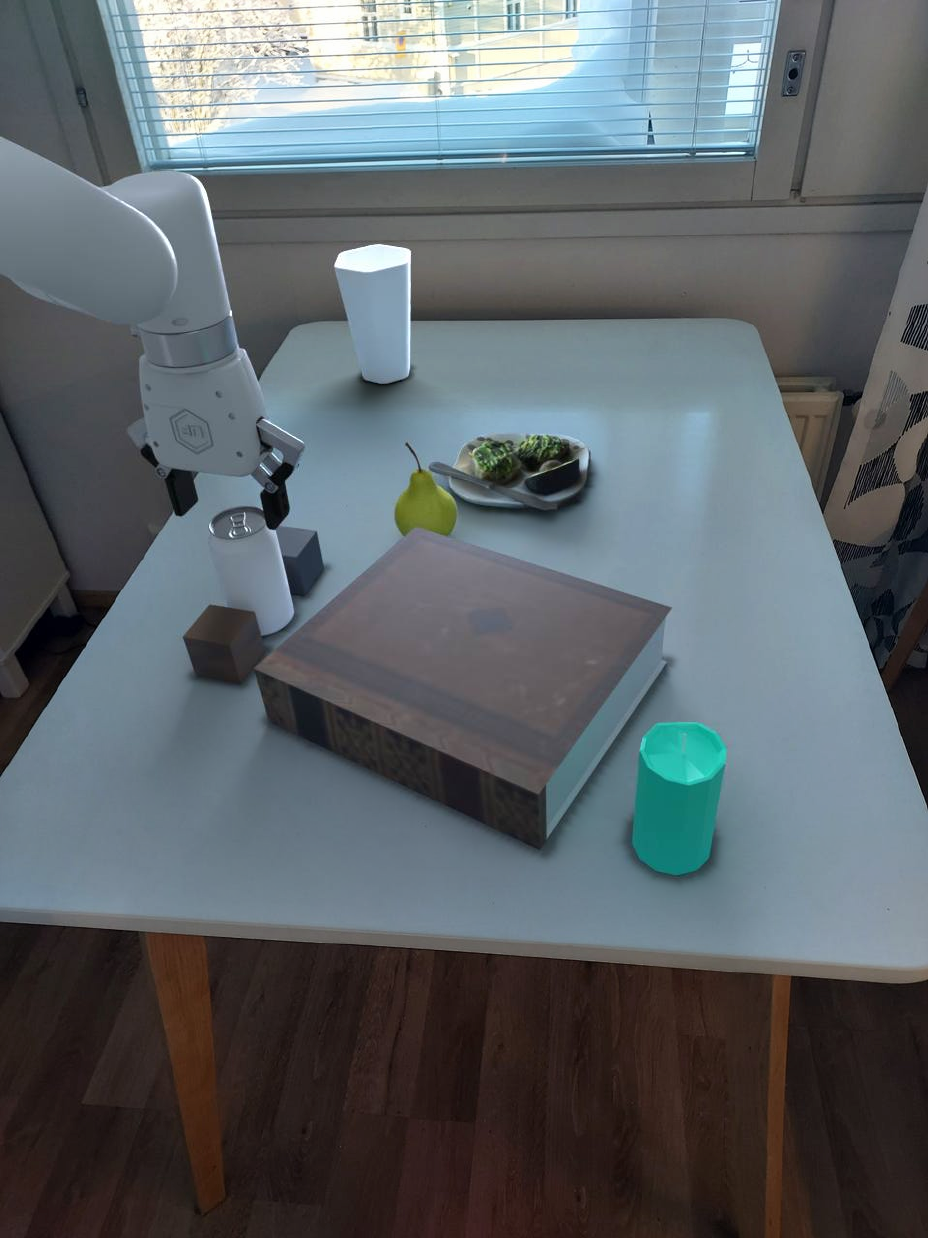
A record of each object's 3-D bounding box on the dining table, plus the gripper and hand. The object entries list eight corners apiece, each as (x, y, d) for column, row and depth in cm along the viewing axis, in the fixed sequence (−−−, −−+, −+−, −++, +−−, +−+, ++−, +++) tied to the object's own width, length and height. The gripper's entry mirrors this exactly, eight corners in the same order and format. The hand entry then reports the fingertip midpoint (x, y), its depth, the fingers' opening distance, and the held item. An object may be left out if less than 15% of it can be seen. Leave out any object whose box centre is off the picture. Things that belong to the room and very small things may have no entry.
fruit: (471, 539, 104) (465, 444, 97) (427, 566, 101) (416, 470, 93) (430, 517, 108) (420, 424, 101) (385, 542, 105) (372, 448, 97)
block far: (262, 589, 100) (253, 551, 96) (283, 562, 103) (275, 524, 100) (304, 595, 98) (296, 557, 95) (324, 568, 102) (317, 530, 99)
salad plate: (413, 513, 109) (409, 479, 106) (447, 439, 122) (445, 407, 119) (578, 525, 105) (578, 490, 102) (595, 447, 118) (596, 414, 115)
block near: (195, 676, 90) (182, 636, 86) (221, 642, 93) (209, 603, 90) (241, 684, 88) (229, 645, 85) (265, 650, 92) (255, 611, 89)
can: (234, 645, 93) (205, 546, 85) (229, 606, 98) (201, 510, 90) (298, 631, 94) (276, 532, 86) (290, 593, 99) (268, 497, 91)
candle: (723, 830, 72) (742, 721, 64) (694, 888, 68) (711, 780, 60) (650, 800, 74) (661, 692, 67) (618, 854, 71) (626, 747, 63)
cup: (417, 388, 135) (405, 269, 124) (348, 391, 135) (330, 273, 124) (423, 356, 143) (412, 242, 132) (358, 358, 144) (342, 245, 133)
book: (539, 849, 71) (538, 794, 67) (268, 721, 84) (253, 668, 80) (666, 662, 87) (672, 607, 83) (421, 577, 99) (415, 526, 95)
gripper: (74, 348, 76) (131, 524, 87) (262, 366, 71) (297, 550, 82) (126, 315, 82) (174, 484, 92) (304, 329, 77) (332, 506, 88)
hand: (232, 515), depth 87 cm, fingers open, 9 cm apart
